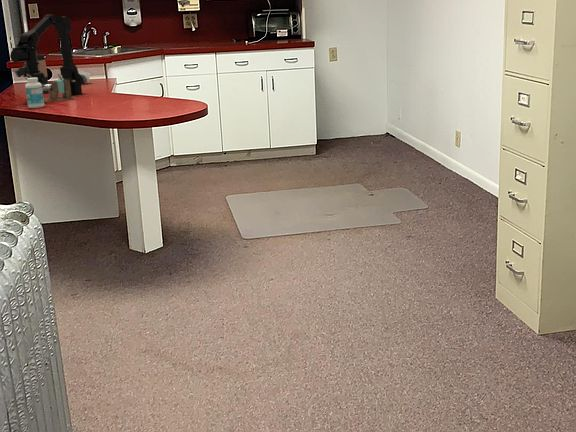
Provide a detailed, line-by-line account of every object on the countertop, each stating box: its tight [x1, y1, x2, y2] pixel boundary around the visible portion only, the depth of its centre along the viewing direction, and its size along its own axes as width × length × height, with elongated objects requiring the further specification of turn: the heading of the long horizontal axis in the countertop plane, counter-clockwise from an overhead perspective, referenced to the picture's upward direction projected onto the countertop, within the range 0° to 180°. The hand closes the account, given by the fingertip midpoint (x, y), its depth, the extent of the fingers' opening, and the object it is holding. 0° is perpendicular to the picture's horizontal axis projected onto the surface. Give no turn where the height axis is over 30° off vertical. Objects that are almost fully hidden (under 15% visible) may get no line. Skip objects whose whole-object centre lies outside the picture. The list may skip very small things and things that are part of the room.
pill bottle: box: [24, 77, 45, 109], centre depth 350 cm, size 8×7×14 cm
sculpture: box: [57, 67, 91, 85], centre depth 447 cm, size 25×19×10 cm
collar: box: [53, 79, 65, 95], centre depth 375 cm, size 3×6×6 cm, turn 32°
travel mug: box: [37, 54, 49, 95], centre depth 404 cm, size 8×8×20 cm
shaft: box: [42, 84, 65, 91], centre depth 373 cm, size 19×4×4 cm, turn 122°
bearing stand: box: [44, 80, 76, 103], centre depth 373 cm, size 20×10×9 cm, turn 122°
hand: (35, 92), depth 370 cm, fingers closed on shaft, 3 cm apart
